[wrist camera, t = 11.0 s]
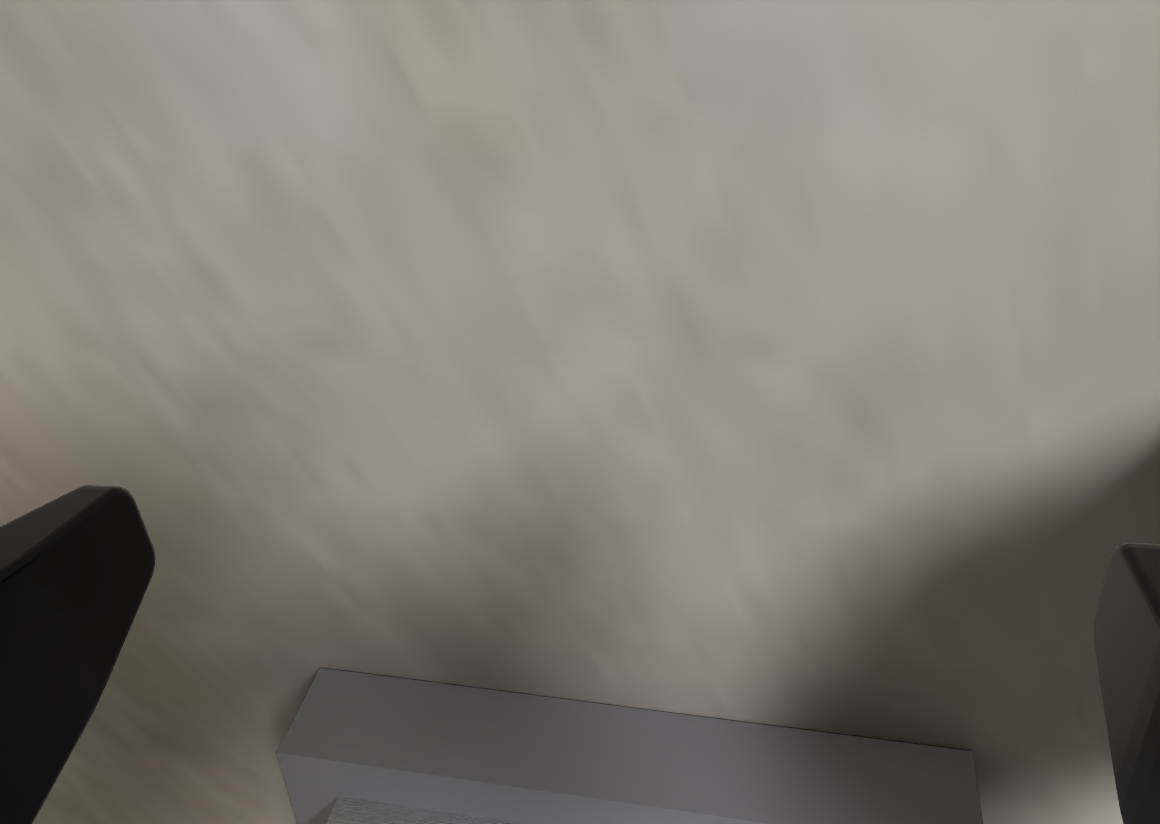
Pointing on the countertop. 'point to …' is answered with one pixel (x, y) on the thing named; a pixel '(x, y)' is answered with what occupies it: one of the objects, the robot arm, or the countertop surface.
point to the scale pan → (396, 814)
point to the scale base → (599, 762)
